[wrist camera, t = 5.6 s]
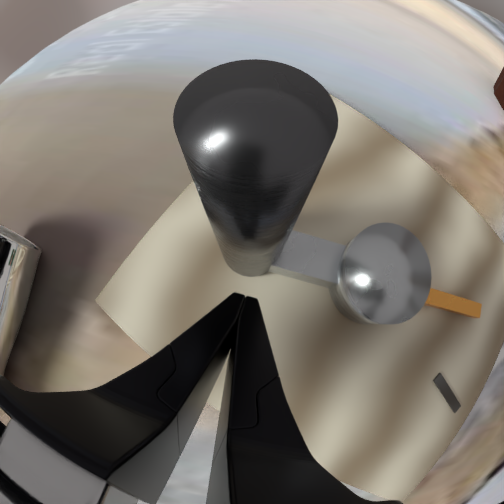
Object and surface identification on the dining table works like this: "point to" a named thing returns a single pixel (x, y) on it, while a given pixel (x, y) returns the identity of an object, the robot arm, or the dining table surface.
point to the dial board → (333, 321)
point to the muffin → (500, 88)
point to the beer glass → (14, 287)
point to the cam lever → (292, 192)
